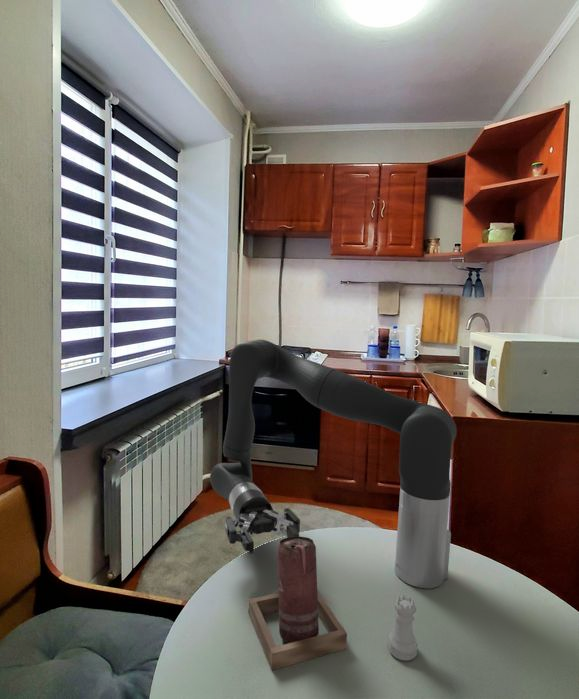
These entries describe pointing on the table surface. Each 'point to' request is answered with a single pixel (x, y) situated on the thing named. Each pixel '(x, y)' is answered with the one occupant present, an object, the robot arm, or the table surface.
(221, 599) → the table surface
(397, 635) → the rook chess piece
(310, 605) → the can
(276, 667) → the walnut collar
